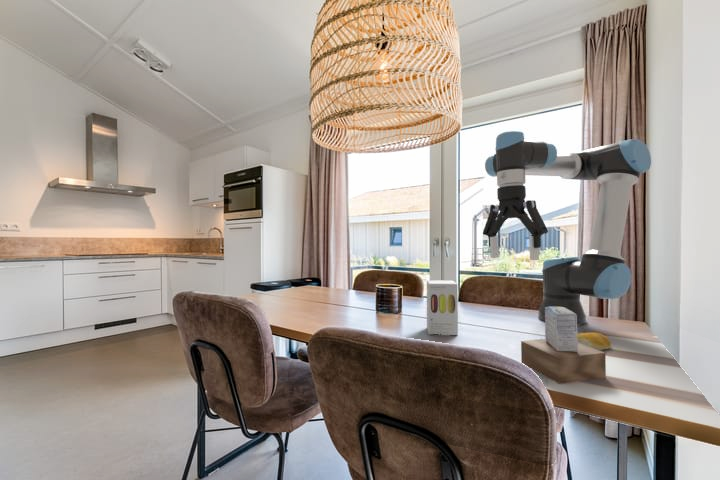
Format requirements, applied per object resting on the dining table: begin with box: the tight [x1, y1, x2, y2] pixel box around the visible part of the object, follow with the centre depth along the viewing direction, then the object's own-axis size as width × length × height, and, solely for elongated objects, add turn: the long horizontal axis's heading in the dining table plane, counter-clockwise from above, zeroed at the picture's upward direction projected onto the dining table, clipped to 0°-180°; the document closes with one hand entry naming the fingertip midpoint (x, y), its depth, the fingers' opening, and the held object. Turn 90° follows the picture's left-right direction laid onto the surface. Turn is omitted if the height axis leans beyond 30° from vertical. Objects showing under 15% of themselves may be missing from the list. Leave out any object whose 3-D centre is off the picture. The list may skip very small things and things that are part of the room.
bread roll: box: [577, 331, 612, 351], centre depth 96 cm, size 8×9×4 cm
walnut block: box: [520, 338, 607, 385], centre depth 79 cm, size 12×12×6 cm
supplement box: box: [426, 279, 459, 336], centre depth 113 cm, size 10×9×17 cm
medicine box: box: [544, 307, 578, 352], centre depth 79 cm, size 8×4×9 cm, turn 168°
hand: (513, 258), depth 99 cm, fingers open, 13 cm apart
